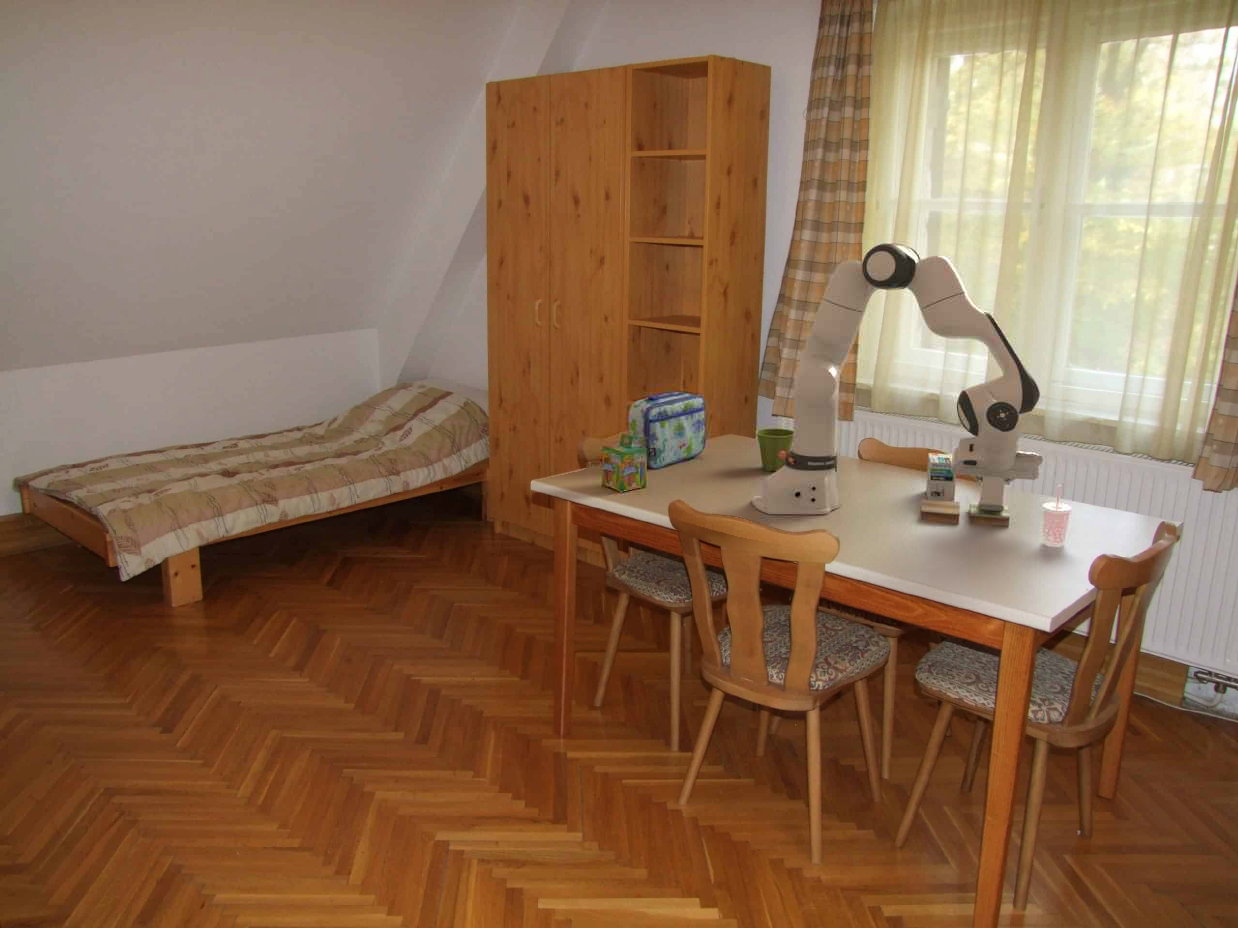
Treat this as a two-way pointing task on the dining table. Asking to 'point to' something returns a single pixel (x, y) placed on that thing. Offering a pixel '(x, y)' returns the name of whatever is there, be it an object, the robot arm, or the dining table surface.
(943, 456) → the light bulb box
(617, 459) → the chalk box
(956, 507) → the stand
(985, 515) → the stand
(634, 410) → the lunch box
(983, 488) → the housing
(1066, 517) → the beverage cup
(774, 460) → the plant pot
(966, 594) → the dining table surface
